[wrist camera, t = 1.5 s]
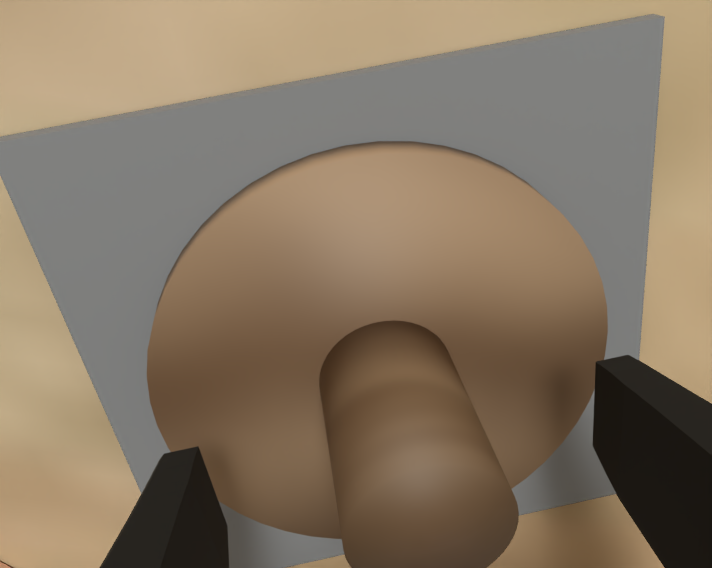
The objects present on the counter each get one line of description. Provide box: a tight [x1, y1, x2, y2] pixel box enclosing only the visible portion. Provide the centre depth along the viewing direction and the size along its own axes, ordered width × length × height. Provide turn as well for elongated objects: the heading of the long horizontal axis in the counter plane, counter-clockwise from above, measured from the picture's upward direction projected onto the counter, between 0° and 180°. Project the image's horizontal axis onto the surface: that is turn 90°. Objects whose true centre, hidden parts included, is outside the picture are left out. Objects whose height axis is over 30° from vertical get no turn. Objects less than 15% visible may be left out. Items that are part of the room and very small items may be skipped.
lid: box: [147, 141, 608, 568], centre depth 12 cm, size 10×10×5 cm
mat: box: [0, 14, 665, 568], centre depth 15 cm, size 12×12×1 cm
